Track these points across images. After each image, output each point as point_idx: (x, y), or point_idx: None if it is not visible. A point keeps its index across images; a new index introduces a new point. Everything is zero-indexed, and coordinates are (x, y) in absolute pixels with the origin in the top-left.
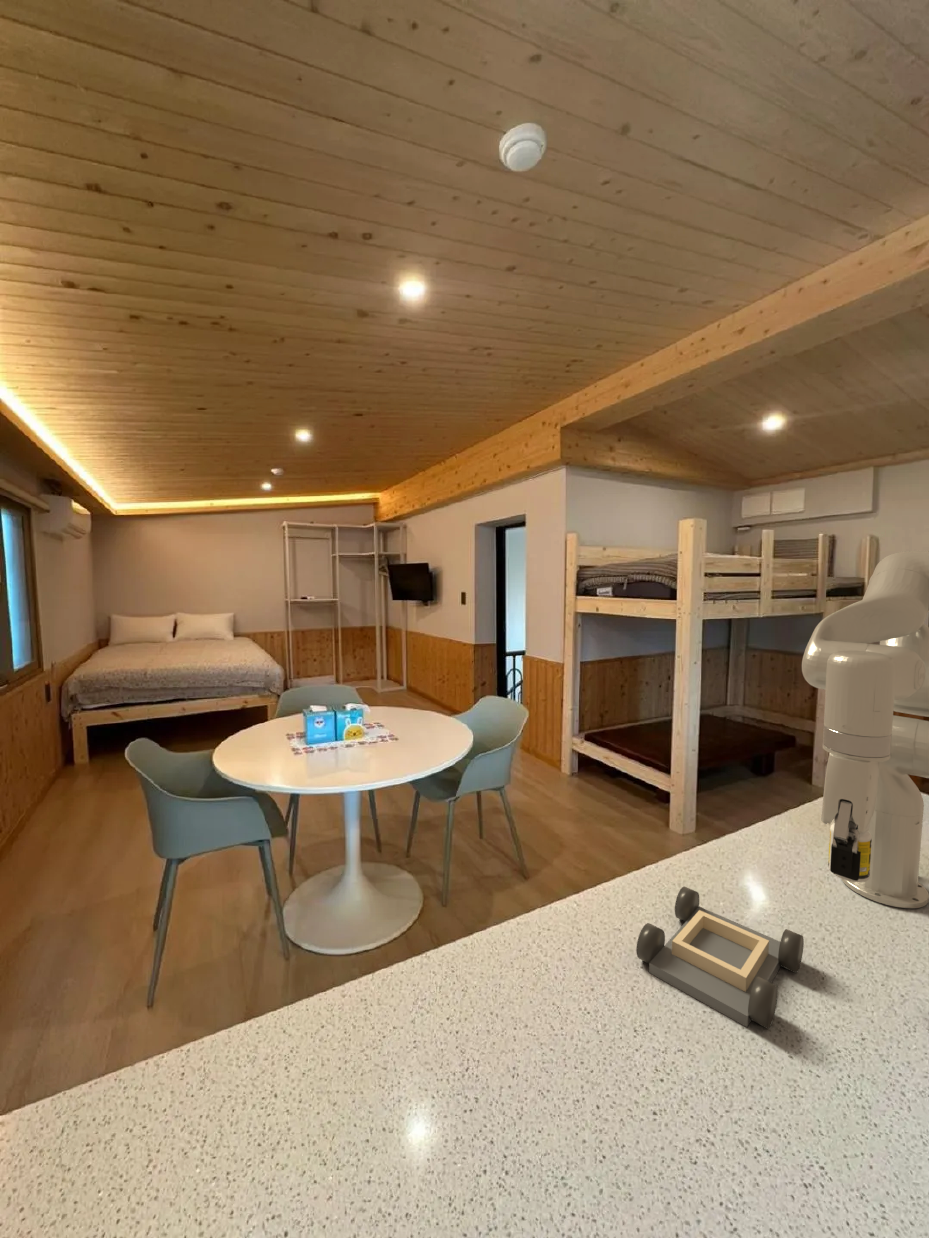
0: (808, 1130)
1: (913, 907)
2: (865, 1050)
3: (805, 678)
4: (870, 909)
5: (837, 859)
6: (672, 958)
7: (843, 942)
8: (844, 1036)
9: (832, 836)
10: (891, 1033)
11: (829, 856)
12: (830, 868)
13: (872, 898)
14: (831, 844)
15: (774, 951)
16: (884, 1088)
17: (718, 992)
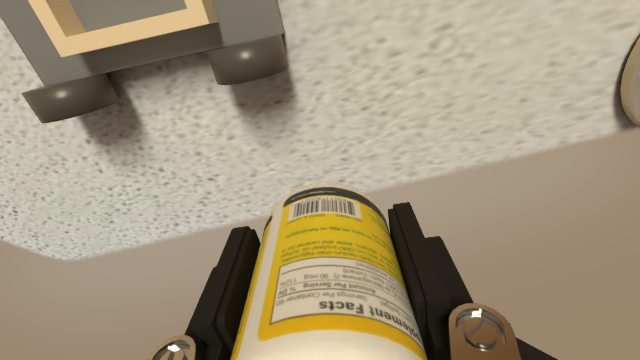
0: (31, 191)
1: (634, 123)
2: (195, 187)
3: None
4: (582, 70)
5: (201, 300)
6: None
7: (413, 83)
8: (191, 165)
9: (244, 335)
10: (254, 194)
11: (281, 226)
12: (231, 233)
13: (629, 62)
14: (260, 284)
15: (236, 27)
16: (163, 213)
17: (24, 21)
